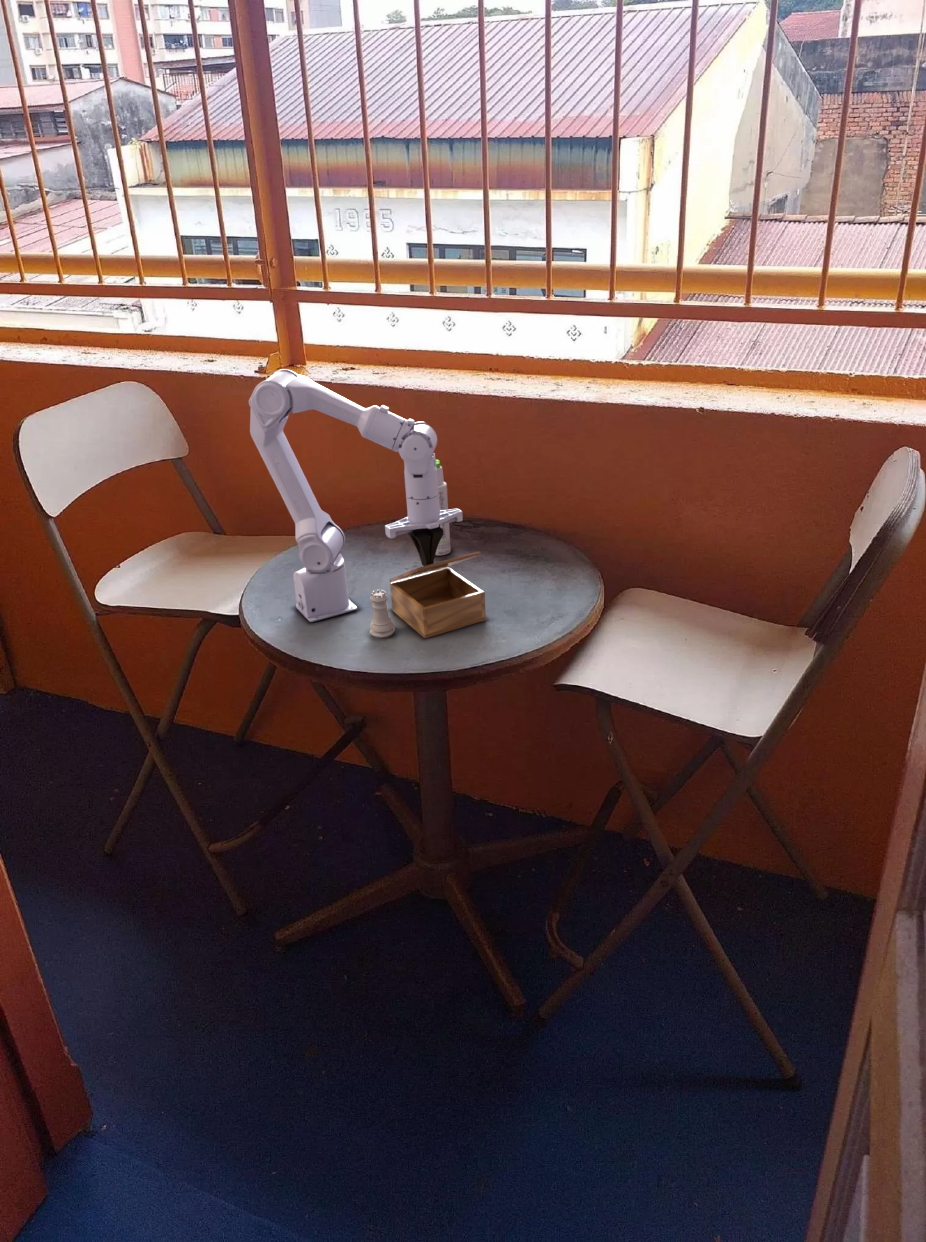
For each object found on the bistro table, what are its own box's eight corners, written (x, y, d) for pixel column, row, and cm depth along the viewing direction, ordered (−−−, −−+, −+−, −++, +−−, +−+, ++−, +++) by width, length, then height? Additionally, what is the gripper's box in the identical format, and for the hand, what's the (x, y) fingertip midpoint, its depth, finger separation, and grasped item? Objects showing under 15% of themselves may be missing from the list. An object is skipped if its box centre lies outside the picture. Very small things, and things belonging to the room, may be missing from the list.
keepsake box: (485, 620, 167) (484, 591, 164) (424, 638, 162) (422, 609, 159) (450, 594, 177) (448, 567, 175) (392, 610, 172) (389, 582, 169)
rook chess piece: (400, 632, 164) (396, 591, 160) (380, 641, 161) (376, 600, 158) (384, 624, 167) (380, 584, 163) (365, 633, 164) (360, 593, 161)
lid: (480, 554, 161) (479, 551, 161) (417, 571, 156) (416, 568, 156) (449, 566, 174) (448, 563, 174) (389, 582, 169) (389, 579, 169)
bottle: (431, 556, 194) (425, 464, 185) (429, 548, 198) (422, 458, 189) (452, 554, 195) (446, 462, 185) (449, 546, 198) (443, 456, 189)
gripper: (394, 509, 155) (401, 582, 162) (469, 492, 161) (473, 563, 168) (377, 498, 161) (384, 569, 167) (450, 481, 167) (454, 550, 173)
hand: (427, 565), depth 168 cm, fingers closed
